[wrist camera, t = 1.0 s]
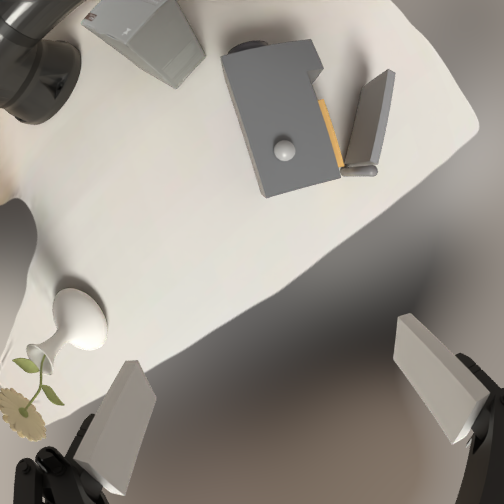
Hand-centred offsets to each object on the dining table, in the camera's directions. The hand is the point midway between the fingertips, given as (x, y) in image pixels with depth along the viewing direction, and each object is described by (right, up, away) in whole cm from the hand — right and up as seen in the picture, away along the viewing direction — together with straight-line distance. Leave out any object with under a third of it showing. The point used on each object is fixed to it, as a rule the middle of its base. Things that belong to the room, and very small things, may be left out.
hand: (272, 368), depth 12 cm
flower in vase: (-29, -6, +27) cm, 40 cm away
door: (+13, +22, +19) cm, 32 cm away
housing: (+4, +22, +20) cm, 30 cm away
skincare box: (-12, +31, +17) cm, 38 cm away
